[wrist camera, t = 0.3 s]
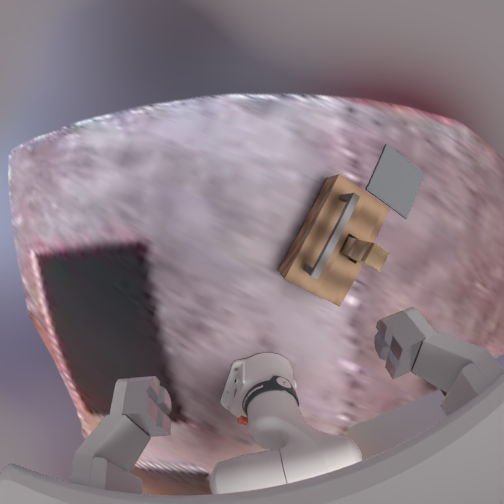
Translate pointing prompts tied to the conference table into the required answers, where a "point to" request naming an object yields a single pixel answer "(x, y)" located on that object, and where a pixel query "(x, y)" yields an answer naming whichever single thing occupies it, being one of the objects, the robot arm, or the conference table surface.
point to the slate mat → (395, 181)
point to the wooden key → (364, 252)
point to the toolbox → (332, 239)
